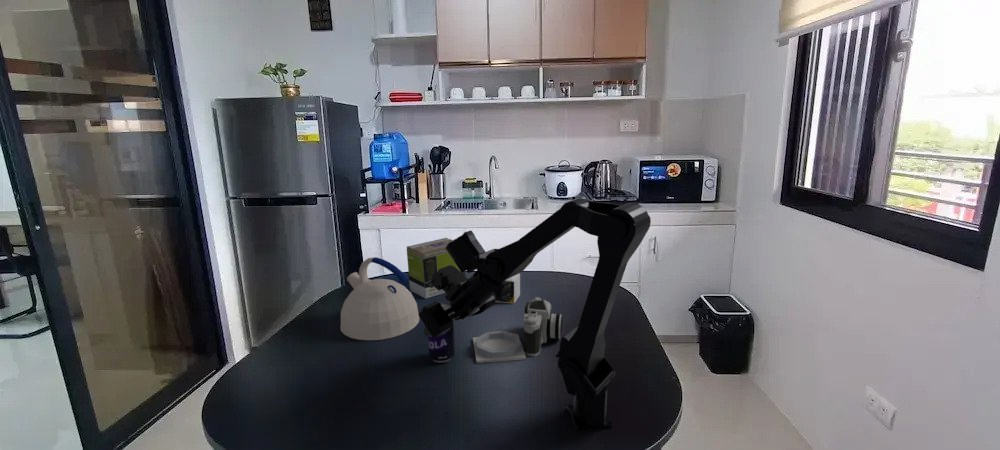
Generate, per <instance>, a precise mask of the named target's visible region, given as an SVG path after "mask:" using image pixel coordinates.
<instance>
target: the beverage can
mask: <svg viewBox="0 0 1000 450" xmlns="http://www.w3.org/2000/svg"><path fill="white" fill-rule="evenodd" d="M440 304H441V305H442V307H443V309H444V310H447V309H449V308H451V306H450V304H446V303H440ZM451 315H452V314H451ZM449 316H450V315H449ZM454 328H455V327H454V320H452V328H450V329H449V330H448V331H447V332H445V333H443V334H442V335H440V336H438V337H436V338H435V337H432V335H431V336H427V342H428V343H427V345H428V347H427V348H428V357H429V358H430V359H431V360H432V361H433V362H435V363H438V364H440V363H442V364H443V363H447V362H449V361H450V360H451V359H452V358H453V357H454V356H455V335H454V334H455V331H454Z"/></svg>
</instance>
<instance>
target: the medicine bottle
mask: <svg viewBox="0 0 1000 450" xmlns="http://www.w3.org/2000/svg"><path fill="white" fill-rule="evenodd" d="M505 281H507V282H509V283H510V285H509V286H510V288H511V293H510V294H508V295H506V296H505V297H503V298H501V299H499V298H498V297H497V296H496V294H494V295H493V296H494V297H495V303H502V304H503V303H504V304H513V305H514V304H515V303H516V302H517V300H518V298H519V297H520V296H521V273H519V274H517V275H515V276H513V277H511V278H509V279H506V280H505Z"/></svg>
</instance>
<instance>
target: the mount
mask: <svg viewBox="0 0 1000 450" xmlns="http://www.w3.org/2000/svg"><path fill="white" fill-rule="evenodd" d="M472 343H473V349H474V354H475V362H476V364H484V362H487V363H496V362H509V361H522V360H527V354H525V353H524V346H523V345H522V342H521V338H520V336H519V334H518V333H516V332H515V333H514V332H509V331H506V330H500V331H499V330H497V331H487V332H485V333H483V334H481V335H480V336H477V337H476V336H475V337H472Z"/></svg>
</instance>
